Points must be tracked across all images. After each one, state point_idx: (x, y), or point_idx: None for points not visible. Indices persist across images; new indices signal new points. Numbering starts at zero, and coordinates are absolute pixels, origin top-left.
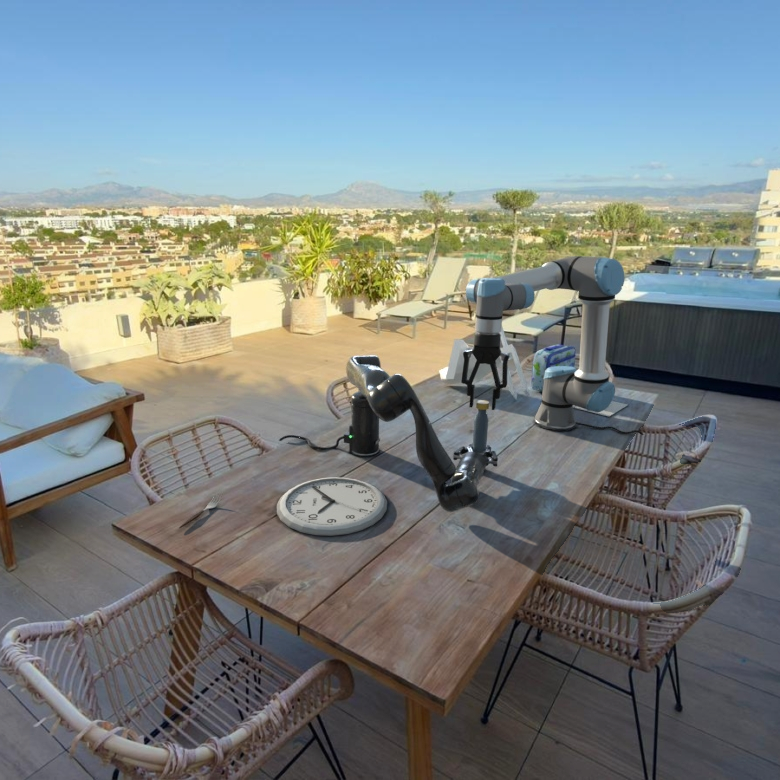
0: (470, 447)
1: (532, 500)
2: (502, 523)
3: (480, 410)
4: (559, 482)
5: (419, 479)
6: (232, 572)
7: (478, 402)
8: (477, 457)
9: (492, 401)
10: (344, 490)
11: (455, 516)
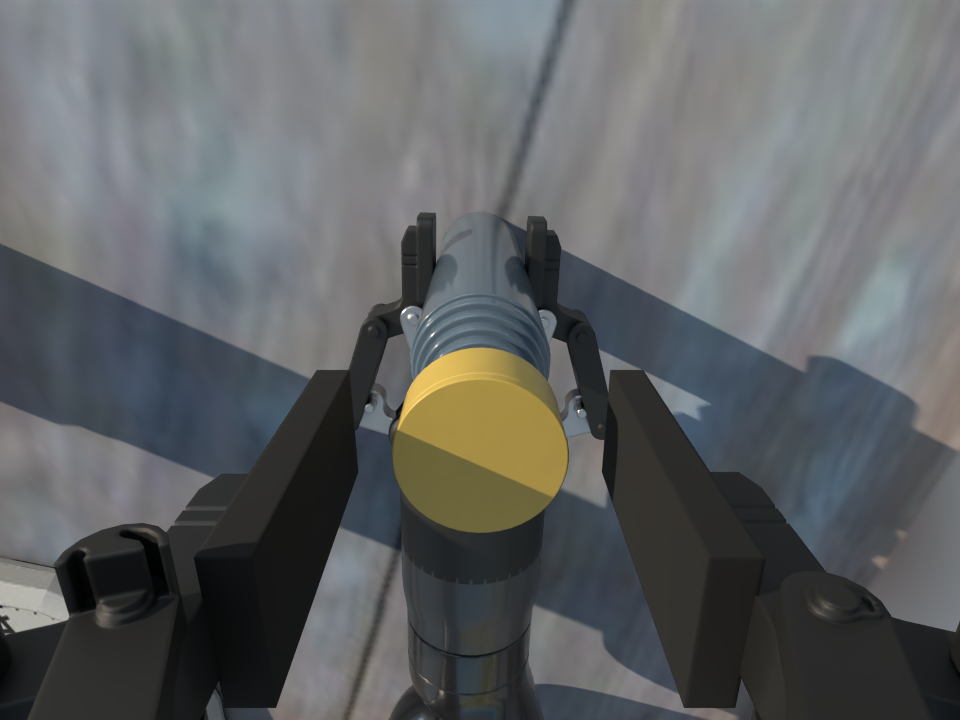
0: None
1: (754, 474)
2: (628, 652)
3: None
4: (923, 256)
5: (229, 450)
6: None
7: (426, 497)
8: (505, 563)
9: (627, 543)
10: None
11: None
